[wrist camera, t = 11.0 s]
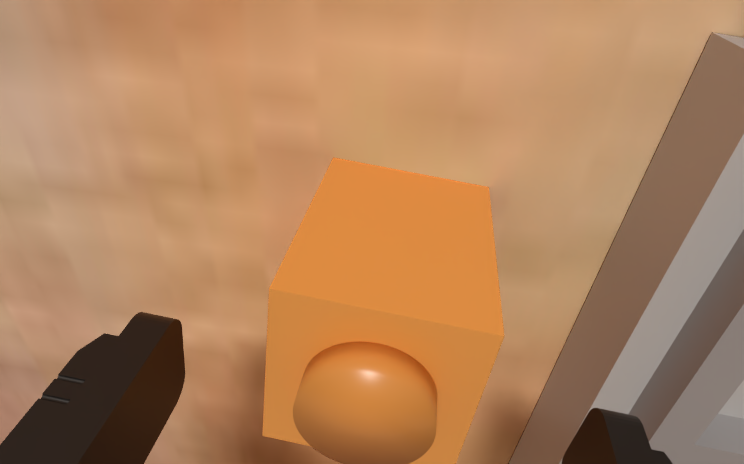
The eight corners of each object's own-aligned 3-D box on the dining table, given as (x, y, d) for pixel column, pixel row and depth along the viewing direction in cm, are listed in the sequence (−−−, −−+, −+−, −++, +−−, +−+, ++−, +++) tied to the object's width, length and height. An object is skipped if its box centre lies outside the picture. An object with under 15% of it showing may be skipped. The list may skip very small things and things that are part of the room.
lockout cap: (452, 306, 17) (450, 510, 11) (319, 279, 17) (251, 466, 12) (488, 186, 15) (507, 368, 9) (333, 157, 15) (255, 317, 9)
